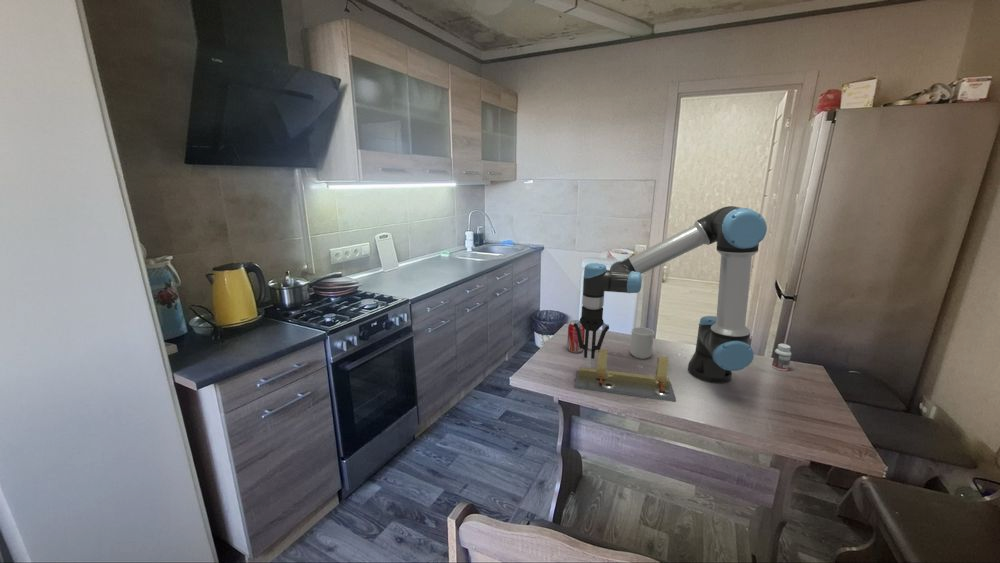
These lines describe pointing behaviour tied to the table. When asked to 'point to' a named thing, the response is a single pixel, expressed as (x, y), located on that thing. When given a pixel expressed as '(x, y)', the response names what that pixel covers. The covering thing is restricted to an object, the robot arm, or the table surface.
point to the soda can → (574, 337)
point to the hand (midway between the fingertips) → (588, 365)
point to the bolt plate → (629, 382)
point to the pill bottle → (782, 357)
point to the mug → (641, 342)
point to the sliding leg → (601, 364)
